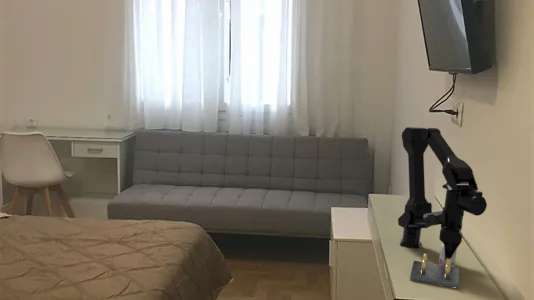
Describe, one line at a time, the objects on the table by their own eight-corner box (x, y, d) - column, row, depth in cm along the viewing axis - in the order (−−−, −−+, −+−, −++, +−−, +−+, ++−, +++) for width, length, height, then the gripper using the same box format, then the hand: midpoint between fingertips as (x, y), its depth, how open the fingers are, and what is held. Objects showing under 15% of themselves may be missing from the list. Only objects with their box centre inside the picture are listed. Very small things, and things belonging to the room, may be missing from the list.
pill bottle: (437, 261, 184) (440, 235, 182) (452, 263, 183) (456, 237, 182) (439, 267, 179) (443, 240, 178) (456, 269, 179) (459, 242, 177)
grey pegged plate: (413, 265, 179) (415, 249, 178) (458, 273, 175) (460, 257, 174) (409, 279, 166) (411, 262, 166) (458, 288, 163) (460, 271, 162)
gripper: (428, 195, 189) (422, 242, 192) (425, 208, 172) (418, 260, 174) (465, 201, 186) (458, 248, 189) (465, 215, 168) (457, 267, 171)
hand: (447, 255), depth 181 cm, fingers open, 9 cm apart
